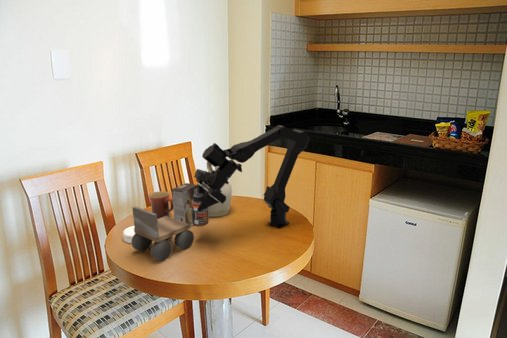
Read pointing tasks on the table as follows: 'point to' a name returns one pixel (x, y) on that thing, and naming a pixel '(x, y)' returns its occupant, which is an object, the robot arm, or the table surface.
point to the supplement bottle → (199, 216)
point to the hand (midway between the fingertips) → (196, 207)
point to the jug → (220, 208)
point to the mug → (161, 203)
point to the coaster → (128, 234)
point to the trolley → (159, 233)
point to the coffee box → (184, 202)
